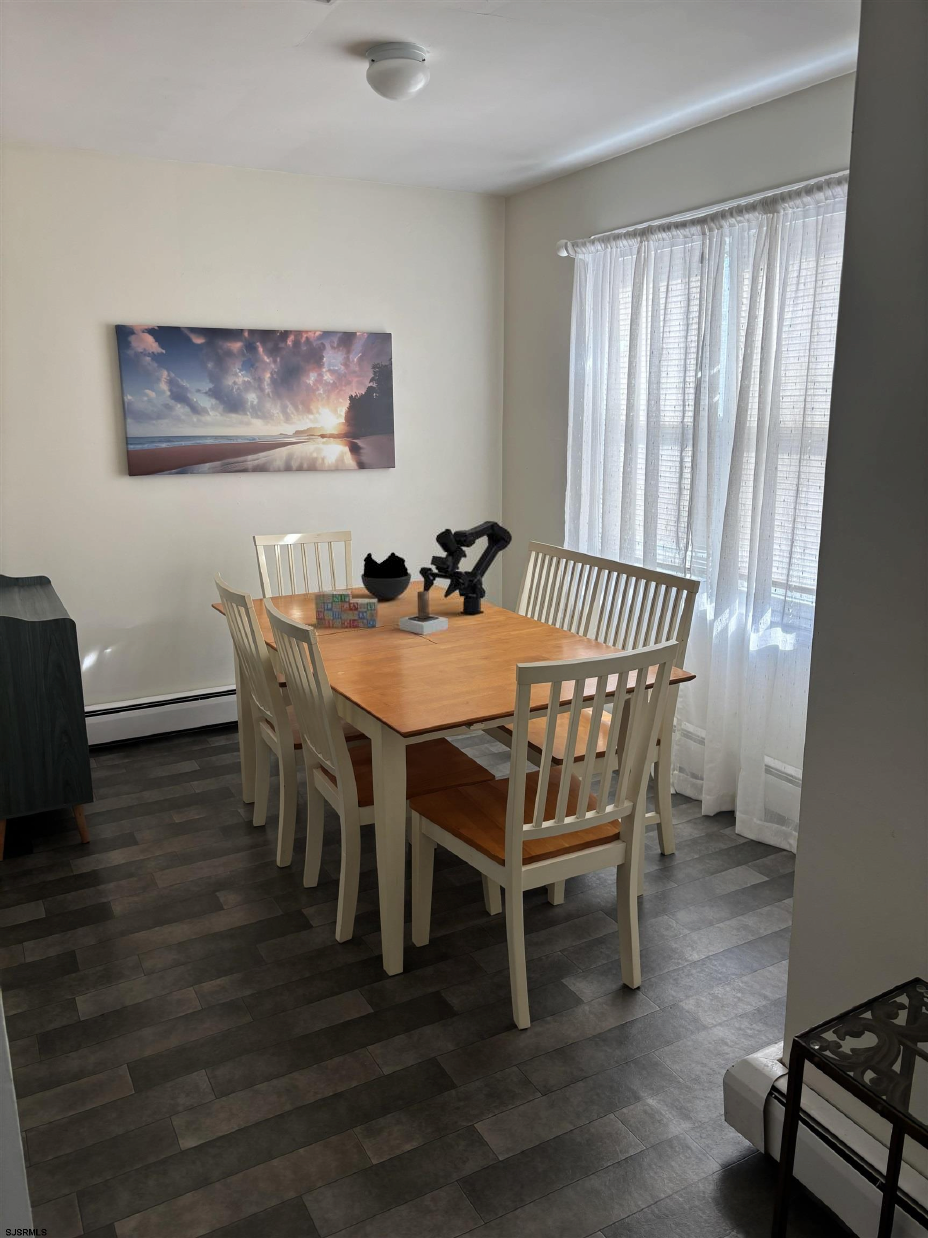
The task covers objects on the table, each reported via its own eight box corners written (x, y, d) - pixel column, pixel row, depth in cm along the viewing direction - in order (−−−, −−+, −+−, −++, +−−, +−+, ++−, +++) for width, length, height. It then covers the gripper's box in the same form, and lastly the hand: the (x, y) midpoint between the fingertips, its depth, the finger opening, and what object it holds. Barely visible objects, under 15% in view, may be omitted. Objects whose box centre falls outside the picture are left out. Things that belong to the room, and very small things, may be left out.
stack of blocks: (378, 623, 323) (377, 590, 320) (376, 628, 317) (375, 593, 314) (319, 623, 324) (318, 589, 321) (315, 627, 318) (314, 593, 315)
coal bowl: (421, 597, 368) (420, 551, 363) (391, 606, 351) (390, 558, 347) (381, 592, 378) (380, 547, 374) (351, 600, 362) (350, 554, 357)
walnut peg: (426, 626, 318) (426, 590, 315) (431, 629, 314) (430, 592, 311) (416, 628, 316) (415, 591, 313) (420, 630, 313) (419, 593, 310)
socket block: (423, 623, 323) (423, 612, 322) (447, 628, 315) (447, 617, 315) (399, 629, 315) (399, 617, 314) (423, 634, 307) (423, 623, 306)
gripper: (421, 544, 323) (403, 579, 317) (464, 549, 313) (446, 585, 307) (434, 563, 332) (417, 597, 325) (476, 567, 321) (459, 603, 315)
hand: (434, 595), depth 318 cm, fingers open, 9 cm apart
